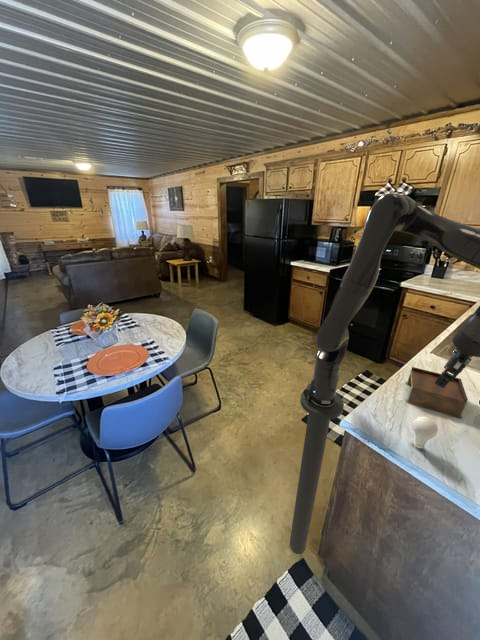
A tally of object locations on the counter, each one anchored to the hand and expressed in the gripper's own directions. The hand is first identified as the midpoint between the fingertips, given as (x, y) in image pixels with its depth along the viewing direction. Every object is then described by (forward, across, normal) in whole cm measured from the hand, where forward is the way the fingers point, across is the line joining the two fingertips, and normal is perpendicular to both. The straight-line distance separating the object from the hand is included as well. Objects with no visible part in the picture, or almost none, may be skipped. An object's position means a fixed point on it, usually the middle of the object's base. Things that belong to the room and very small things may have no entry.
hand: (443, 377), depth 73 cm
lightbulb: (+24, +5, +6) cm, 25 cm away
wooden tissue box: (+28, -24, +4) cm, 37 cm away
